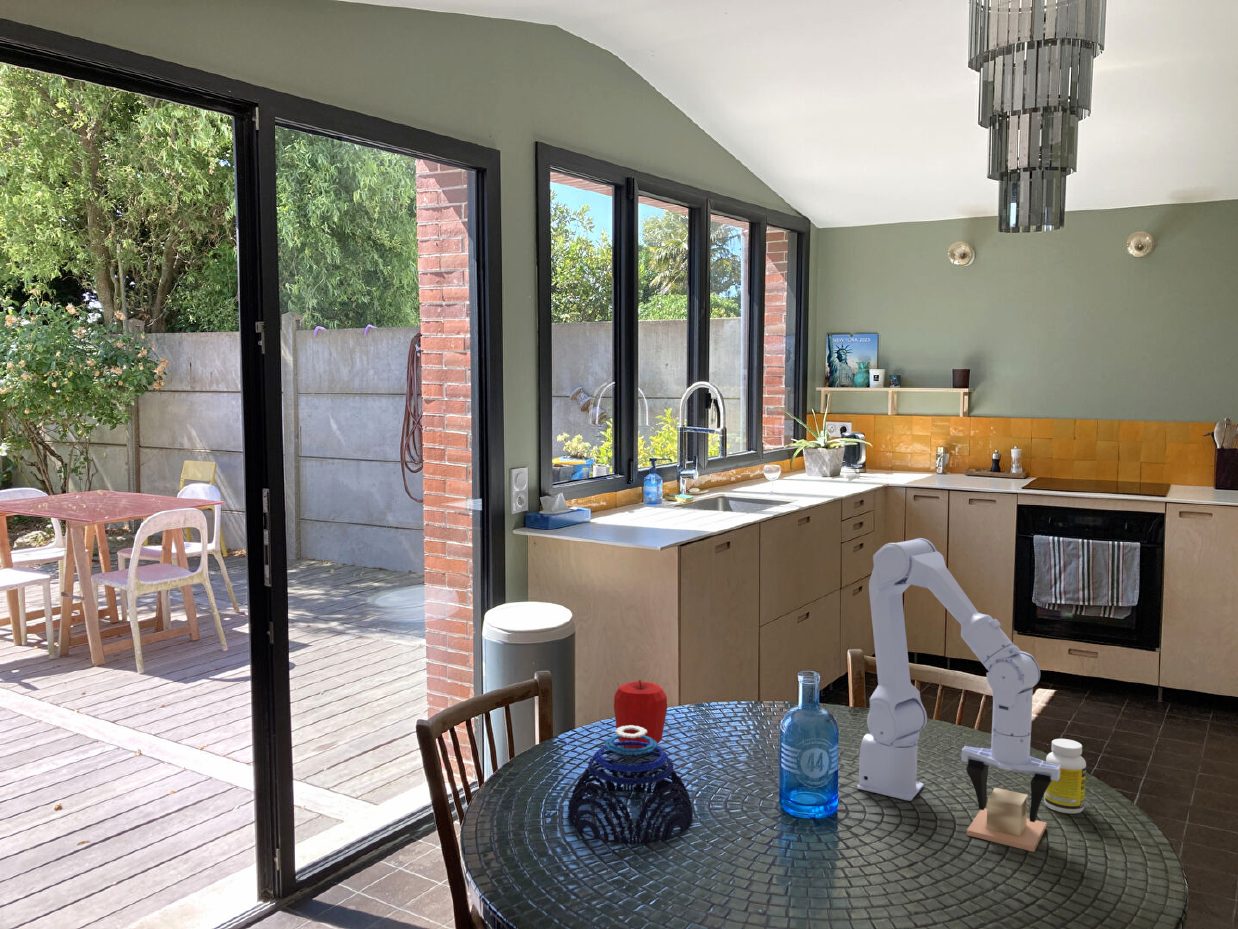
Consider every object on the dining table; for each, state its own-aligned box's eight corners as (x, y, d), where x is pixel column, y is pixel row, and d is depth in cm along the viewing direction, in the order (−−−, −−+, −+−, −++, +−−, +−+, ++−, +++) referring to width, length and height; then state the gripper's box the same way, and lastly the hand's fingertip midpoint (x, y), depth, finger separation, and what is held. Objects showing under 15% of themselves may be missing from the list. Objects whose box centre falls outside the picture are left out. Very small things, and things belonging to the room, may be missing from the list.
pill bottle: (1088, 816, 163) (1091, 751, 162) (1048, 813, 165) (1051, 748, 164) (1078, 801, 169) (1082, 738, 168) (1040, 797, 171) (1043, 735, 170)
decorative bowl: (717, 815, 163) (718, 730, 162) (636, 857, 148) (636, 764, 147) (627, 781, 176) (627, 702, 175) (544, 817, 162) (545, 731, 161)
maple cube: (986, 828, 157) (987, 798, 156) (993, 817, 161) (995, 787, 160) (1019, 837, 154) (1021, 806, 154) (1026, 825, 158) (1027, 795, 158)
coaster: (966, 835, 156) (966, 830, 156) (981, 812, 165) (982, 807, 165) (1033, 852, 151) (1034, 847, 151) (1046, 827, 159) (1046, 822, 159)
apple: (667, 759, 186) (668, 688, 185) (613, 758, 187) (613, 687, 185) (665, 738, 197) (666, 672, 196) (614, 738, 197) (614, 671, 196)
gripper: (957, 728, 157) (954, 811, 158) (1056, 747, 149) (1051, 834, 150) (968, 716, 163) (965, 796, 164) (1064, 734, 155) (1060, 818, 156)
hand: (1007, 813), depth 158 cm, fingers open, 7 cm apart
